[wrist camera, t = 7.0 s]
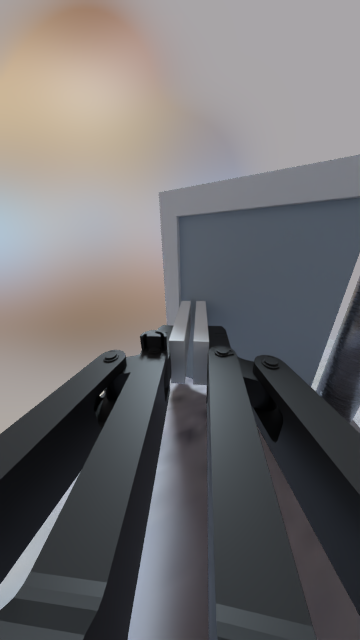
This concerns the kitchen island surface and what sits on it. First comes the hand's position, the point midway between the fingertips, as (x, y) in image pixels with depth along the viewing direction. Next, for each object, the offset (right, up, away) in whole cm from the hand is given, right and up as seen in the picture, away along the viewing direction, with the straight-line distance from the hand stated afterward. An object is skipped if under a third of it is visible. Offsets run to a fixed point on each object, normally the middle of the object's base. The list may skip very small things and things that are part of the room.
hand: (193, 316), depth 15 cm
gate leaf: (+4, -7, +2) cm, 8 cm away
